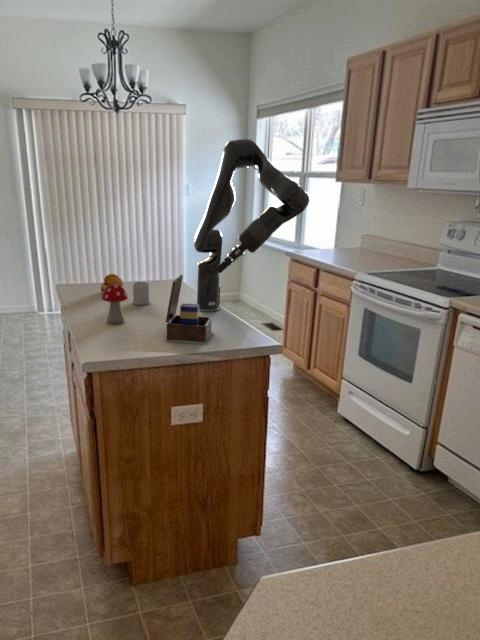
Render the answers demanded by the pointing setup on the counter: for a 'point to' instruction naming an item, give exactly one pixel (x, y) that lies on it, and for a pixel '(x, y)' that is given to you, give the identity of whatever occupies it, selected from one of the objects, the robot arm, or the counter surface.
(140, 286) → the cup
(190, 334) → the chest
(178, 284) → the lid
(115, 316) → the decorative mushroom
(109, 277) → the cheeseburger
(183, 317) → the cookie packet
